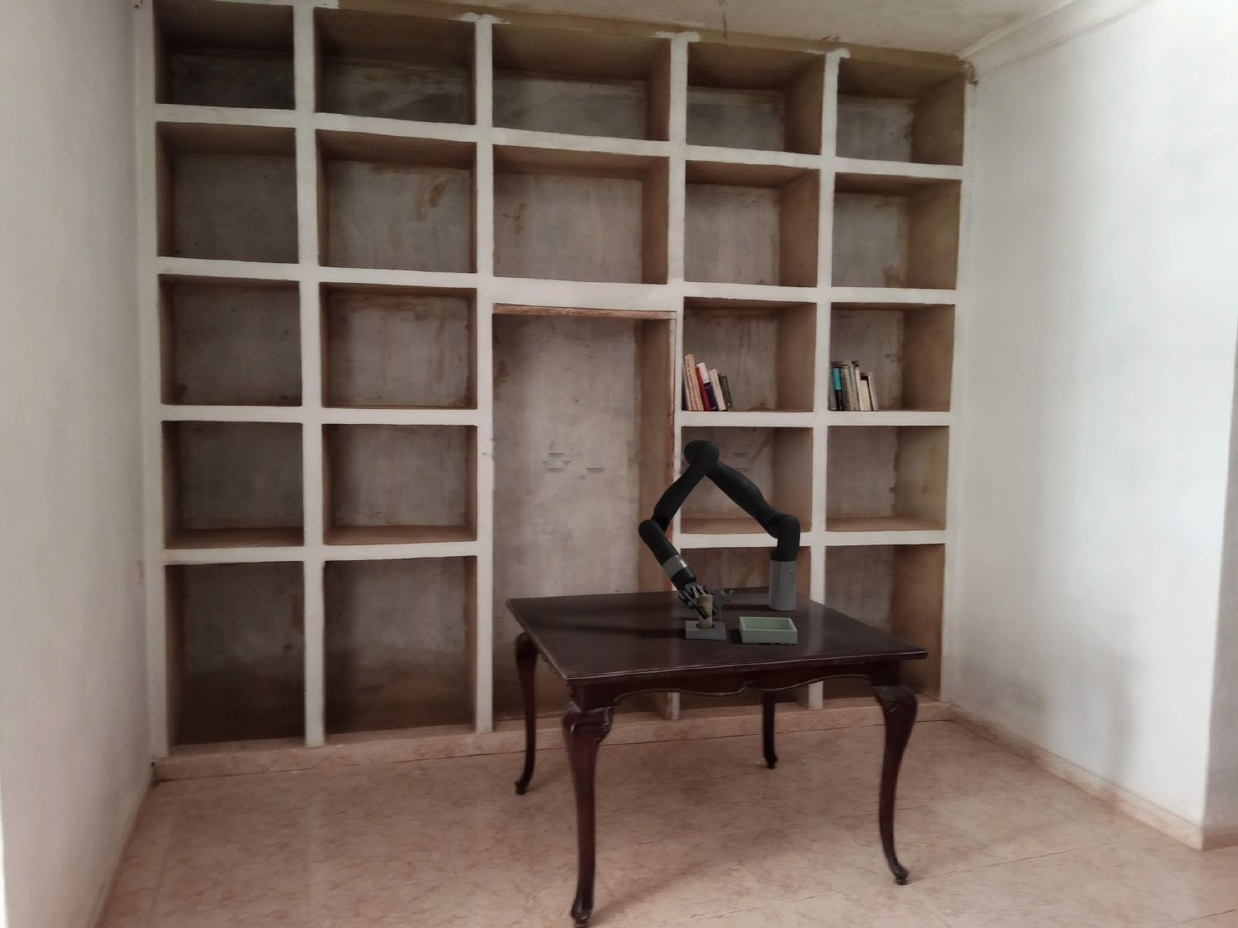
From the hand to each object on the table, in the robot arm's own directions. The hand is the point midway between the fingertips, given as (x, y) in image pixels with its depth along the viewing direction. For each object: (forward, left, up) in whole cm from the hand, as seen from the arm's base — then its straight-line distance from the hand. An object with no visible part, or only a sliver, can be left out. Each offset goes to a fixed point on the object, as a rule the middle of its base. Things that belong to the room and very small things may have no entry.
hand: (710, 616), depth 262 cm
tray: (0, +17, -6) cm, 18 cm away
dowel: (-1, -2, -6) cm, 6 cm away
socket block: (-1, -2, -6) cm, 6 cm away
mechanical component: (-20, +3, -6) cm, 21 cm away
